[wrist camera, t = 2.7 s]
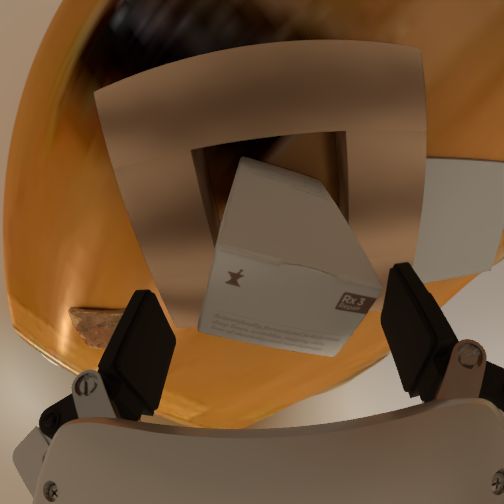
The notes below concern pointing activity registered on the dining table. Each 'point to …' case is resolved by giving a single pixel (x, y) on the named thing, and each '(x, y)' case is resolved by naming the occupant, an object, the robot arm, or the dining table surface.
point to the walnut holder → (260, 126)
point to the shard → (95, 325)
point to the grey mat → (459, 218)
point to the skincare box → (286, 266)
